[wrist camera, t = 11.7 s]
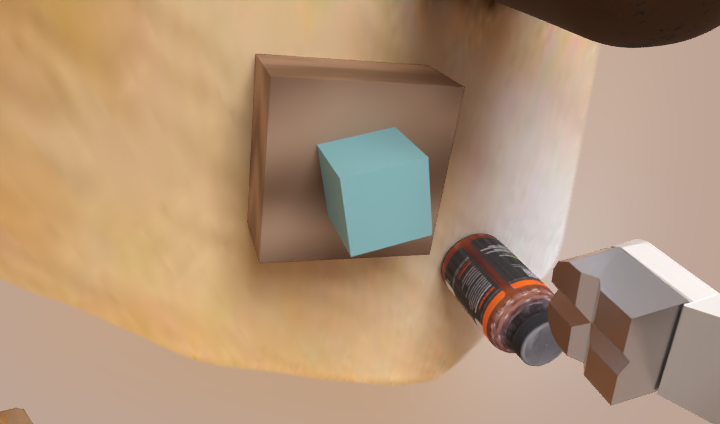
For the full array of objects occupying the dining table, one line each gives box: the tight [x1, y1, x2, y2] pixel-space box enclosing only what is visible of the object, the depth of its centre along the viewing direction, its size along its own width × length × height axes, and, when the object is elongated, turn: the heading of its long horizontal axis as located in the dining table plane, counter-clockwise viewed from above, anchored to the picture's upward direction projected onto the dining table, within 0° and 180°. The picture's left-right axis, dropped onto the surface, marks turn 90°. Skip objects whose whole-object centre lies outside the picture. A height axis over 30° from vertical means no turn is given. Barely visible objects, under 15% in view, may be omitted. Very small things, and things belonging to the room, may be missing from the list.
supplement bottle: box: [442, 234, 563, 366], centre depth 45 cm, size 6×6×11 cm
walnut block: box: [247, 54, 465, 263], centre depth 39 cm, size 12×12×6 cm
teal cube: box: [317, 127, 432, 257], centre depth 34 cm, size 5×5×5 cm
